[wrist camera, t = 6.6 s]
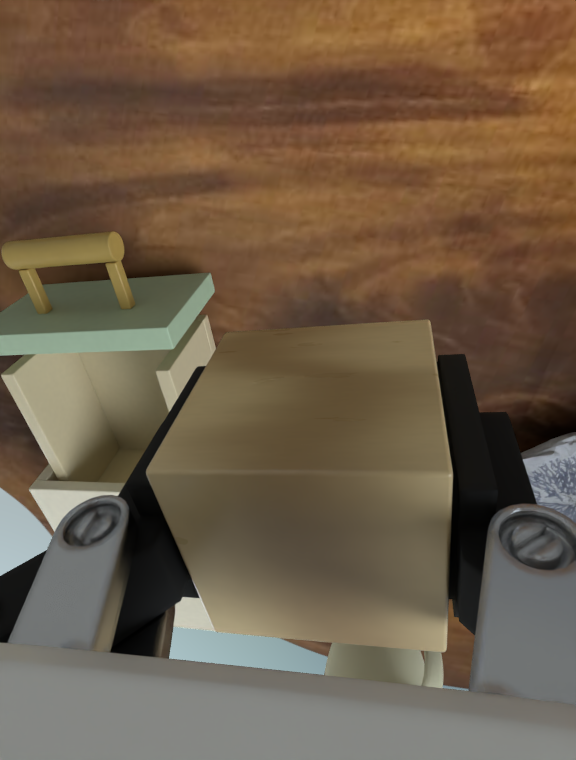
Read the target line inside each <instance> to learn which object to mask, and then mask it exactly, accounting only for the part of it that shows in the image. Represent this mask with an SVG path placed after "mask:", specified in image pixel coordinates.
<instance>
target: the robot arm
mask: <svg viewBox="0 0 576 760" xmlns="http://www.w3.org/2000/svg"><path fill="white" fill-rule="evenodd" d="M436 363H437V370H438V376H439V383H440V390H441V396H442V403H443V410H444V416H445V423H446V430H447V436H448V443H449V450H450V456H451V463H452V470H453V493H452V520H451V548H450V575H449V599H452V601H453V610H454V617H459V622H461V623H462V624H463V625H464V626H465V627H466V628H467V629H468V630H470V631H471V632H472V633H473V634H474V635H475V641H474V650H473V658H472V666H471V675H470V683H469V691H462V690H454V689H444V688H436V687H427V686H418V685H409V684H400V683H391V682H382V681H373V680H364V679H355V678H346V677H336V676H327V675H318V674H309V673H300V672H290V671H281V670H272V669H262V668H252V667H243V666H233V665H224V664H215V663H205V662H195V661H186V660H177V659H169V654H170V647H171V640H172V632H173V625H174V618H175V604H177V603H178V602H180V601H181V599H182V597H189V598H200V597H199V595H198V592H197V590H196V588H195V585H194V583H193V581H192V579H191V576H190V574H189V572H188V569H187V567H186V565H185V563H184V560H183V558H182V556H181V553H180V551H179V549H178V546H177V544H176V542H175V540H174V537H173V535H172V533H171V530H170V528H169V526H168V524H167V521H166V519H165V517H164V514H163V512H162V510H161V507H160V505H159V503H158V501H157V498H156V496H155V494H154V491H153V489H152V487H151V484H150V482H149V480H148V478H147V475H146V469H147V467H148V466H149V464H150V462H151V461H152V459H153V457H154V455H155V454H156V452H157V450H158V448H159V447H160V445H161V443H162V441H163V440H164V438H165V436H166V435H167V433H168V431H169V429H170V428H171V426H172V424H173V422H174V421H175V419H176V417H177V415H178V414H179V412H180V410H181V409H182V407H183V405H184V403H185V402H186V400H187V398H188V396H189V395H190V393H191V391H192V389H193V388H194V386H195V384H196V383H197V381H198V379H199V377H200V376H201V374H202V372H203V370H204V369H205V367H206V366H198V367H197V368H196V369H195V371H194V372H193V374H192V375H191V377H190V379H189V380H188V382H187V384H186V385H185V387H184V389H183V390H182V392H181V394H180V395H179V397H178V399H177V400H176V402H175V404H174V405H173V407H172V409H171V410H170V412H169V414H168V415H167V417H166V418H165V420H164V422H163V423H162V424H161V425H160V427H159V429H158V430H157V432H156V434H155V435H154V437H153V439H152V440H151V442H150V444H149V445H148V447H147V449H146V450H145V452H144V453H143V455H142V457H141V458H140V460H139V462H138V463H137V465H136V467H135V468H134V470H133V472H132V473H131V475H130V477H129V478H128V480H127V481H126V483H125V485H124V486H123V488H122V490H121V491H120V493H119V495H118V496H114V495H101V496H98V497H94V498H90V499H88V500H86V501H84V502H82V503H80V504H79V505H77V506H76V507H74V508H73V509H72V510H70V511H69V512H68V513H67V514H66V515H65V516H64V517H63V519H62V520H61V521H60V523H59V525H58V526H57V528H56V530H55V533H54V535H53V537H52V540H51V542H50V545H49V547H48V549H47V550H46V551H44V552H43V553H41V554H39V555H37V556H35V557H34V558H32V559H30V560H28V561H27V562H25V563H23V564H21V565H19V566H17V567H16V568H14V569H12V570H10V571H9V572H7V573H5V574H3V575H2V576H0V760H576V523H575V522H574V521H572V520H571V519H570V518H569V517H568V516H566V515H564V514H562V513H560V512H558V511H556V510H554V509H552V508H548V507H545V506H541V505H537V502H536V499H535V496H534V493H533V490H532V486H531V483H530V480H529V477H528V474H527V471H526V468H525V465H524V462H523V459H522V455H521V452H520V449H519V446H518V443H517V440H516V437H515V434H514V431H513V428H512V424H511V421H510V418H509V416H508V414H507V413H506V412H484V413H479V410H478V406H477V402H476V398H475V394H474V389H473V385H472V381H471V377H470V373H469V369H468V365H467V361H466V357H465V354H455V355H438V362H436Z"/></svg>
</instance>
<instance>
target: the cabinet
mask: <svg viewBox="0 0 576 760" xmlns="http://www.w3.org/2000/svg"><path fill="white" fill-rule="evenodd" d="M124 485H125V483H110V482H78V481H59V480H58V478H57V476H56V475H55V473H54V471H53V469H52V467H51V466H50V464H48V466H47V467H46V468H45V469H44V471H43V472H42V473H41V474H40V475H39V477H38V478H37V479H36V481H35V482H34V483H33V484H32V485H31V487H30V488H29V490H30V492H31V494H32V495H33V497H34V499H35V500H36V502H37V504H38V505H39V507H40V509H41V510H42V512H43V514H44V515H45V517H46V518H47V520H48V522H49V523H50V525H51V527H52V528H53V530H54V532H55V530H56V528H57V526H58V525H59V523H60V521H61V520H62V519H63V517H64V516H65V515H66V514H67V513H68V512H69V511H70V510H72V509H73V508H74V507H76V506H77V505H79V504H80V503H82V502H84V501H86V500H88V499H90V498H94V497H98V496H101V495H114V496H118V495H119V493H120V491H121V490H122V488H123V486H124ZM173 627H180V628H190V629H200V630H210V631H214V629H213V627H212V624H211V622H210V620H209V618H208V615H207V613H206V611H205V608H204V606H203V604H202V602H201V599H200V598H189V597H182V599H181V601H180V602H178V603H177V604H175V618H174V625H173Z"/></svg>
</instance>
